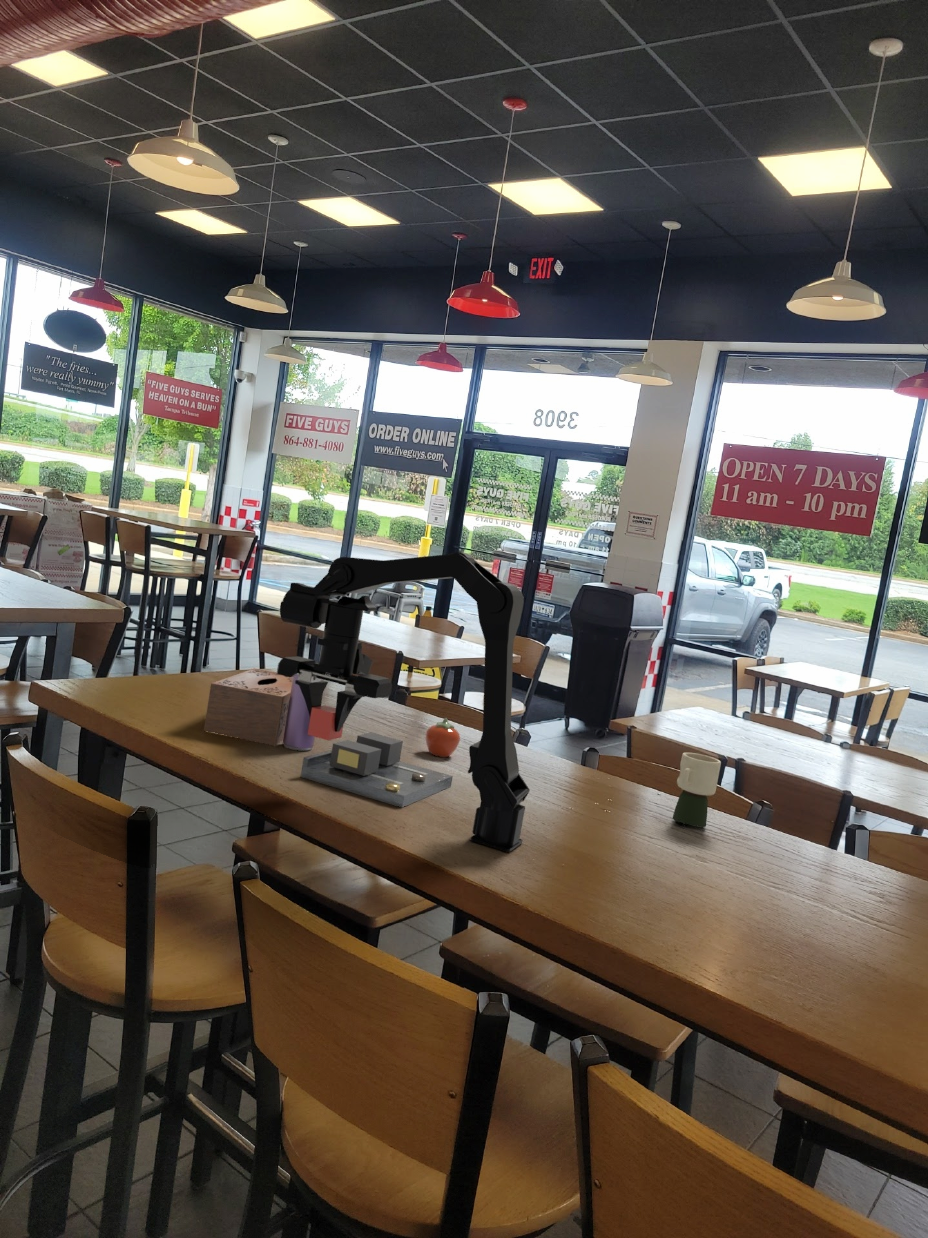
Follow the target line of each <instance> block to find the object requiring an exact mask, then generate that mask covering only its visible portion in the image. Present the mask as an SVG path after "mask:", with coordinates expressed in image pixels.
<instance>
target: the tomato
mask: <svg viewBox="0 0 928 1238" xmlns="http://www.w3.org/2000/svg"><path fill="white" fill-rule="evenodd" d="M424 735H425V736H424V740H425V741H424V742H425V744H426V747H427V750H428V752H429V753H430V754H431V755H432V754H433V755H432V756H434V755H435V757H438V756H441V757H440V758H449V757H450V756H451V755H452V754H453V753H454V752H455V751H456V750H457V748H458V747H459V745H460V741H461V736H460V735H461V734H460V733H459V732H458V730H457V729H456V728H455V726H454V724H453V725H452V724H451V723H450V722H449V721H448V718H447V717H445V718H443V720H442V721H438V722H436V724H433V725H431V726H430V727H428V728H427V730H426V731H425V734H424Z"/></svg>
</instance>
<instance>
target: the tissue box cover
mask: <svg viewBox="0 0 928 1238" xmlns="http://www.w3.org/2000/svg"><path fill="white" fill-rule="evenodd" d="M292 681H293V677H287V676H283V675H279V674H277V671H276V672H275V671H271V670H266V669H265V670H264V669H260V668H255V667H254V668H251V669H248V670H246V671H241V672H240V673H237V674H234V675H231V676H228V677H226V678H222V679H219V680H217V681H213V682H211V683H210V686H209V687H210V688H209V695H208V701H207V707H206V708H207V709H206V714H205V720H204V721H205V722H204V726H203V731H204V730H205V731H208V732H215V733H218V734H224V735H227V736H232V737H238V738H241V739H240V740H243V739H246V740H245V741H248V740H250V741H249V742H253V741H256V742H255V743H258V742H259V744H263V743H265V745H268V744H269V745H270V746H274V745H275V746H277V745H279V744H280V743H281V742H283V741H282V740H283V737H284V731H285V725H286V718H287V712H288V706H289V700H290V693H291V687H292ZM227 736H226V737H227ZM232 737H231V738H232ZM280 741H281V742H280ZM269 745H268V746H269Z"/></svg>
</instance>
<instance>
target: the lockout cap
mask: <svg viewBox="0 0 928 1238" xmlns="http://www.w3.org/2000/svg"><path fill="white" fill-rule="evenodd" d="M335 712H336V707H335V706H334V707H333V706H329V705H326V704H324V705H321V706H318V707H312V711H311V717H310V723H309V729H308V735H311V736H315V738H319V739H322V740H326V741H332V740H337V739H341V738H342V734H343V731H344V730H343V729H344V725H343V726H342V728H341V730H340V731H339V732H335Z"/></svg>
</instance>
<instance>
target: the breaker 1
mask: <svg viewBox="0 0 928 1238" xmlns="http://www.w3.org/2000/svg"><path fill="white" fill-rule="evenodd" d="M331 750H332V753H331V759H330V765H329V766H332V767H335V768H339V769H342V770H346V771H349V772H352V773H356V774H359V775H363V776H365V775H368V774H371V773H374V772H377V771H378V767H379V761H380V755H381V749H379V748H375V747H371V746H368V745H364V744H360V743H357V741H354V740H353V741H352V740H349V739H345V740H342V741H339V742H337V741H336V742H333V743H332V748H331Z"/></svg>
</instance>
